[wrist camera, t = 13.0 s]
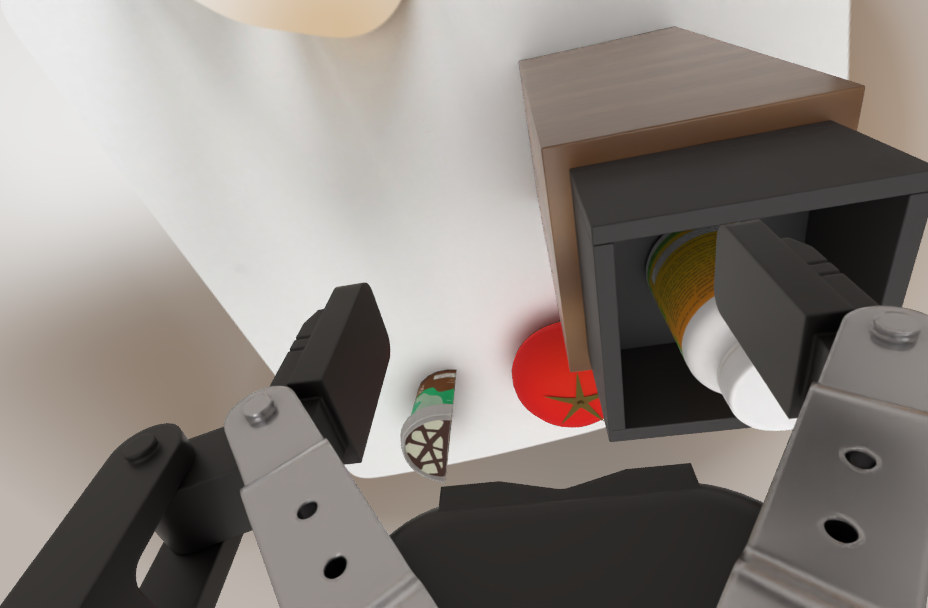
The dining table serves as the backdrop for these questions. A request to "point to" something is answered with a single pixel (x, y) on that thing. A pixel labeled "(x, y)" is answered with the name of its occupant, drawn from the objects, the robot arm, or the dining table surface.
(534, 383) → the tomato
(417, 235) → the dining table surface
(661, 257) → the supplement bottle
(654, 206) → the dark grey open box
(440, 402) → the food container
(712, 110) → the stand
